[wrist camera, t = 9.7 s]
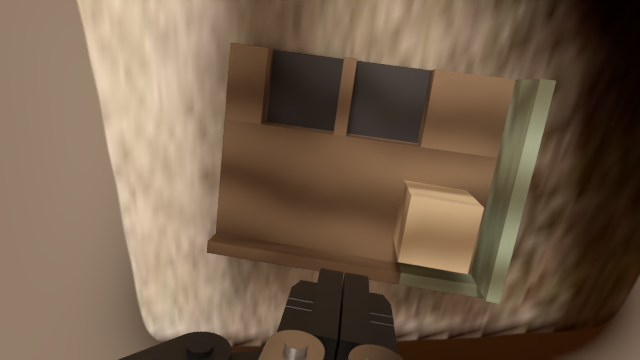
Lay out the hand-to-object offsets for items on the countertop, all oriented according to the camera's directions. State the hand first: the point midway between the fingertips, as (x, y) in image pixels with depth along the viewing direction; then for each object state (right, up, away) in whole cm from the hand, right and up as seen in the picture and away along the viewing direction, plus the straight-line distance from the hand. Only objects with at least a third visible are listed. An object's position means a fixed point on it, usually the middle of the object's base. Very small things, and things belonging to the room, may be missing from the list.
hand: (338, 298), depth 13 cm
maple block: (+8, +1, +21) cm, 23 cm away
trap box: (+3, +6, +23) cm, 24 cm away
